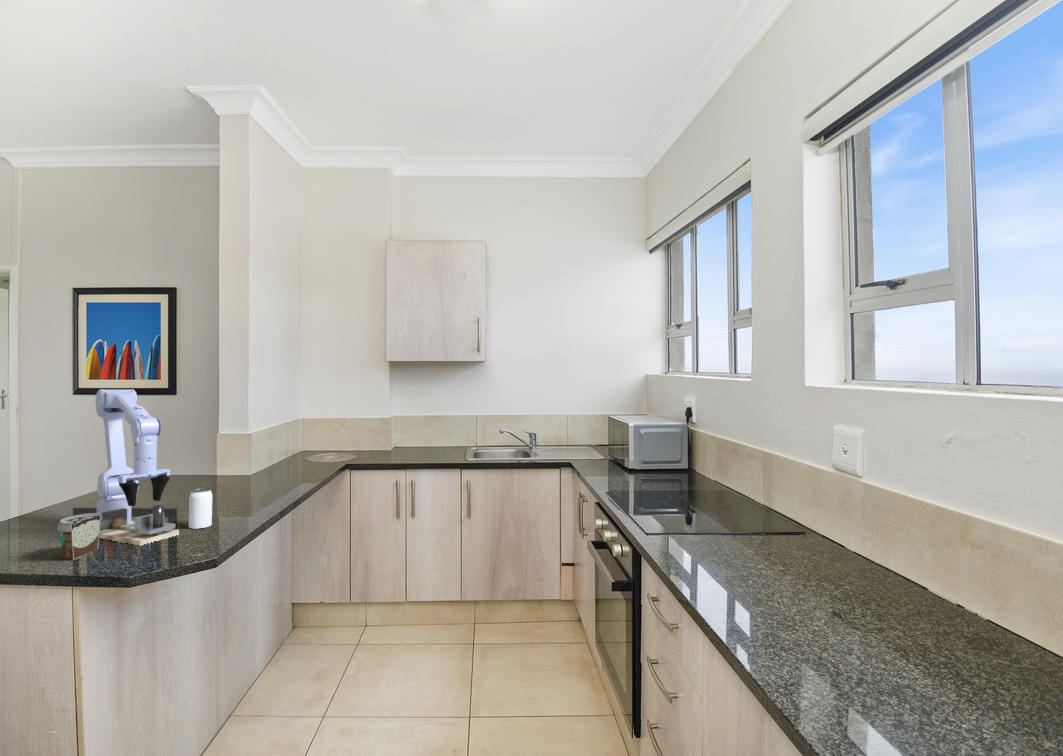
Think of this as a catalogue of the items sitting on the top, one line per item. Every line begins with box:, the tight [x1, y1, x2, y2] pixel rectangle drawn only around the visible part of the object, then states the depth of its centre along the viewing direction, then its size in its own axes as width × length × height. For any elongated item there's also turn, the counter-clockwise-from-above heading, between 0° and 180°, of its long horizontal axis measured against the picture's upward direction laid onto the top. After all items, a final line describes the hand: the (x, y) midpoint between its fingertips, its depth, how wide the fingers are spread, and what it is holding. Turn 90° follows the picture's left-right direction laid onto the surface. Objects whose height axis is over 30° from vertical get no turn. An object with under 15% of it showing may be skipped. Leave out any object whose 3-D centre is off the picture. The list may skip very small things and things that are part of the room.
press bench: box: [99, 508, 180, 547], centre depth 167 cm, size 22×12×6 cm, turn 71°
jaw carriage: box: [133, 504, 177, 535], centre depth 165 cm, size 6×8×7 cm
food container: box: [56, 512, 102, 561], centre depth 149 cm, size 12×6×10 cm, turn 5°
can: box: [188, 487, 213, 530], centre depth 179 cm, size 6×6×12 cm
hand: (144, 503), depth 166 cm, fingers open, 7 cm apart
